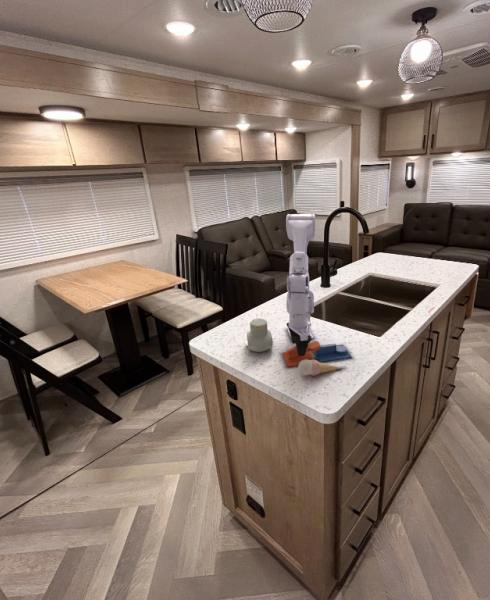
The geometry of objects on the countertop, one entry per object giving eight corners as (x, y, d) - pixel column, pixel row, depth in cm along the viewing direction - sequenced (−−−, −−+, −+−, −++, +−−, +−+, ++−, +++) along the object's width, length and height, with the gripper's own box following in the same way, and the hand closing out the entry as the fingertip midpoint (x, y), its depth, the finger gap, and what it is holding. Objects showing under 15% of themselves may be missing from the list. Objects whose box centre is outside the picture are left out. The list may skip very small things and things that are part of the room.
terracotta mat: (282, 353, 108) (282, 352, 108) (308, 350, 110) (308, 349, 110) (287, 367, 101) (287, 365, 101) (315, 363, 103) (315, 362, 103)
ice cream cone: (338, 365, 103) (294, 364, 98) (344, 357, 100) (299, 356, 95) (341, 378, 100) (297, 378, 95) (348, 371, 97) (302, 370, 92)
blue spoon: (317, 357, 105) (317, 349, 104) (314, 351, 109) (314, 343, 107) (348, 353, 107) (348, 346, 106) (344, 347, 110) (344, 340, 109)
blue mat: (312, 349, 110) (312, 348, 110) (342, 345, 113) (342, 344, 112) (319, 362, 103) (319, 361, 103) (351, 358, 105) (351, 356, 105)
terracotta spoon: (291, 361, 103) (288, 354, 102) (288, 355, 107) (285, 348, 106) (322, 348, 104) (319, 341, 102) (318, 342, 107) (315, 335, 106)
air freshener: (273, 354, 108) (272, 328, 104) (249, 357, 107) (247, 330, 103) (269, 338, 118) (268, 314, 114) (247, 340, 117) (245, 316, 113)
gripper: (317, 320, 93) (316, 359, 99) (304, 300, 106) (304, 336, 112) (294, 322, 92) (294, 362, 97) (283, 303, 105) (284, 339, 110)
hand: (298, 348), depth 104 cm, fingers open, 7 cm apart
